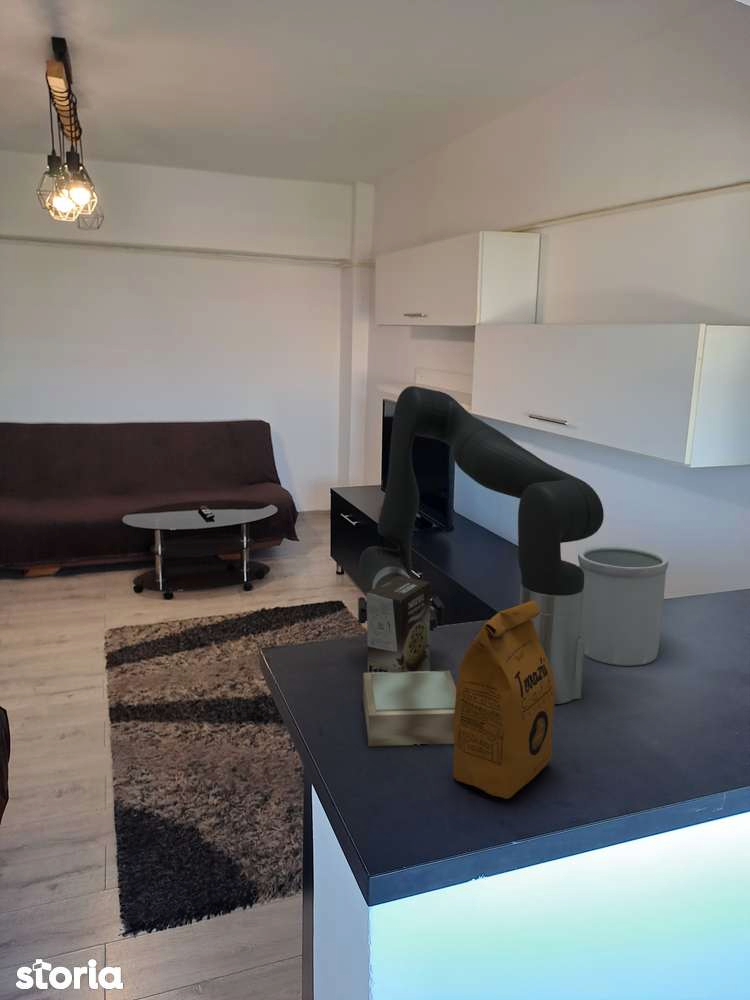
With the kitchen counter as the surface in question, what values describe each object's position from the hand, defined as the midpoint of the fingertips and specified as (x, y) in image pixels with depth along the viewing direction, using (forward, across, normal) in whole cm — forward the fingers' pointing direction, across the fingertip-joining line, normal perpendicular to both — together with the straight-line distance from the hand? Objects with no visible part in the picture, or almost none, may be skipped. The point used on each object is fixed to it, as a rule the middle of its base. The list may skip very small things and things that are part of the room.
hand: (405, 625), depth 118 cm
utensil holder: (-10, +39, +10) cm, 41 cm away
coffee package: (+27, +9, +10) cm, 30 cm away
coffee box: (+1, -1, +9) cm, 9 cm away
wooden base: (+13, -1, +9) cm, 16 cm away
